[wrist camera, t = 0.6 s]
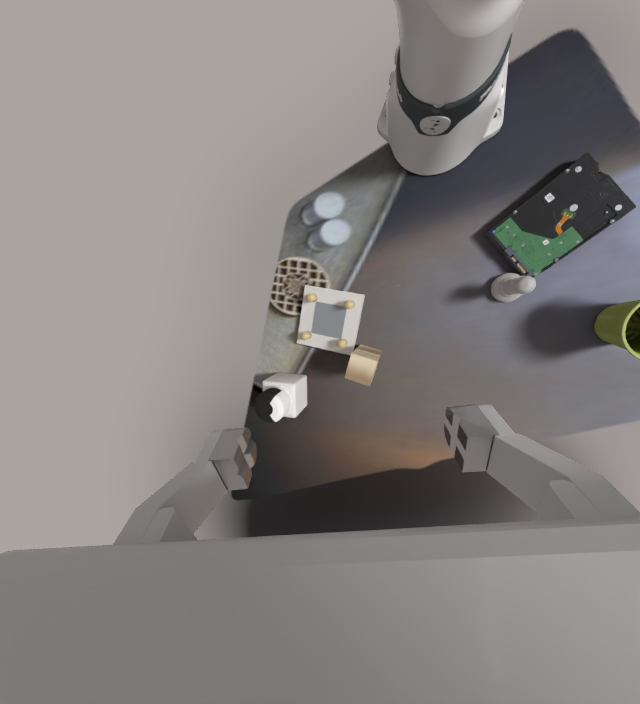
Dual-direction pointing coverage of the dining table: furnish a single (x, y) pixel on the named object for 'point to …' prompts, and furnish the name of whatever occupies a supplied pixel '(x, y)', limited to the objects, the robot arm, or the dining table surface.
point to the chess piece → (511, 286)
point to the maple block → (363, 364)
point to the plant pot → (620, 326)
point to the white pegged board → (330, 319)
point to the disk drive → (560, 217)
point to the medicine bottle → (281, 397)
